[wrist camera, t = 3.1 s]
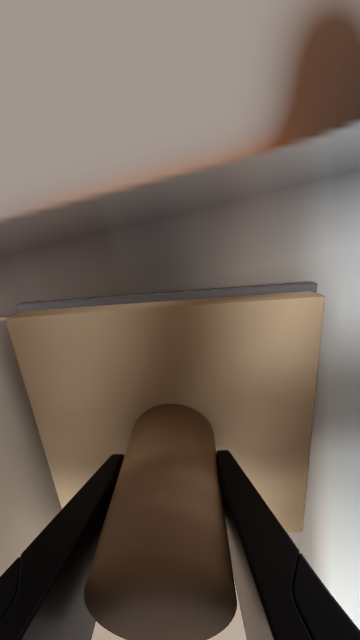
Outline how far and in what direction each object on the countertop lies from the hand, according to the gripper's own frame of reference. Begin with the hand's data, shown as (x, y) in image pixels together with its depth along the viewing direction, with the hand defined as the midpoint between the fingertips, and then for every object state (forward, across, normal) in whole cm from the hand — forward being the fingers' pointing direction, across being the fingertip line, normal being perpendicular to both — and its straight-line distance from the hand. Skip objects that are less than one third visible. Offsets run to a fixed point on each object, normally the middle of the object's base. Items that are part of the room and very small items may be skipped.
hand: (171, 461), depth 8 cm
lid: (+2, 0, 0) cm, 2 cm away
